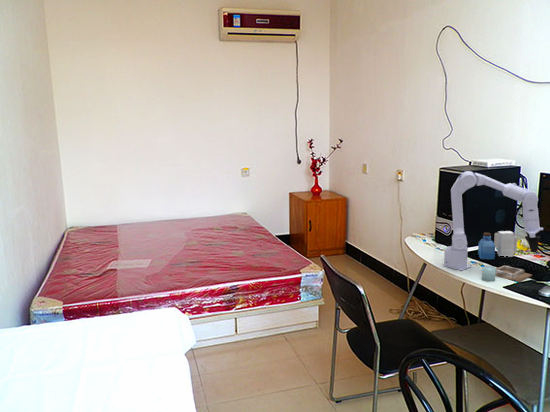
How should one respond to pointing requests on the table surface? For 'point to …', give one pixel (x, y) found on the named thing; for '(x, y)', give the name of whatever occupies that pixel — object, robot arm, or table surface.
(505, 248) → the skincare box
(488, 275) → the light blue cup
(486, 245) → the perfume bottle
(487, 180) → the robot arm
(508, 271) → the collar board
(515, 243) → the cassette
